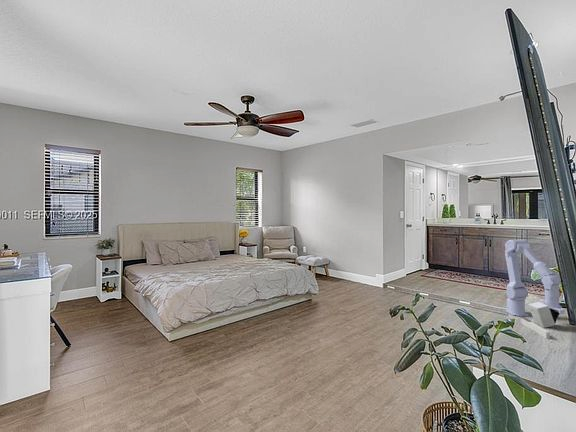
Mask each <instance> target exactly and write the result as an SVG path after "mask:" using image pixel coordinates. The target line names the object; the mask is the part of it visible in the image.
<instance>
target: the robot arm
mask: <svg viewBox="0 0 576 432" xmlns="http://www.w3.org/2000/svg"><path fill="white" fill-rule="evenodd" d="M504 247H505V248H504V249H505V251H504V256H505V261H506V267H507V273H508V279H509V282H508V284H507V285H506V292H505V293H506V296H507V299H506V309H505V312H507V313H509V314H511V315H512V316H514V315H516V316H515V317H520V316H523V317H529V316H530V315H529V314H527V313H526V300H527V299H526V298H527V297H528V296H529V291H528V289H527V287H526V285H525V284H524V283H523V282H522V279H521V278H522V277H521V272H520V265H519V262H518V261H519V260H518V255H519V254H523V255H524V256H525V257H526V258H527V260H529V261H530V263H531V264H533V267H532V268H533V269H534V271H535V272H536V273H537V275H539V276H540V278H541V280H540V281H541V283H542V284H543V288H544V301H540V302H541V303H543V304H545V305H547V306H549V309H550V312H551V314H552V317H553V320H554V323H555V324H556V323H557V321H558V317H559V316H560V315H562V314H564V315H565V309H563V308H562V305H560V285H561V284H562V282H561V281H560V277H561V276H560V274H557V273H555V272H554V271H552V270H551V268H550V267H549V266H548V264H547V263H545V262H544V261H541V260H540V259H539V258H538V257H537V255H536V253H535V252H534V251H533V250H532V248H531V244H530V243H529V242H528V241H527V240H526V239H524V238H523V239H522V238H521V239H509V240H507V241H506V242H505V243H504ZM559 276H560V277H559Z"/></svg>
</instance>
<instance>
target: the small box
mask: <svg viewBox="0 0 576 432" xmlns="http://www.w3.org/2000/svg"><path fill="white" fill-rule="evenodd" d="M541 302H542V301H537V302H532V303H528V307H529V310H530V313H531V316H532V319H533V323H534V324H536V325H538V326H540V327H541V328H543V329H545V328H549V327H553V326H556V323H554V320H553V317H552V314H551V312H550V309H549V306H547V305H545V304H543V303H541Z"/></svg>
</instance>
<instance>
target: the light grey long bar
mask: <svg viewBox="0 0 576 432" xmlns="http://www.w3.org/2000/svg"><path fill="white" fill-rule="evenodd" d="M519 318H520V323H521V324H522V325H524V326H525V327H527V328H528V329H530V330H532V331H533V332H536V333H537V335H540V336H542V337H543V338H545V339H551V332H550V331H549V330H547V329H545V328H544V327H542V326H540V325H538V324H537V323H535V322H534V321H533V322H532V320H530V319H528V318H527V317H526V316H519Z"/></svg>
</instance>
